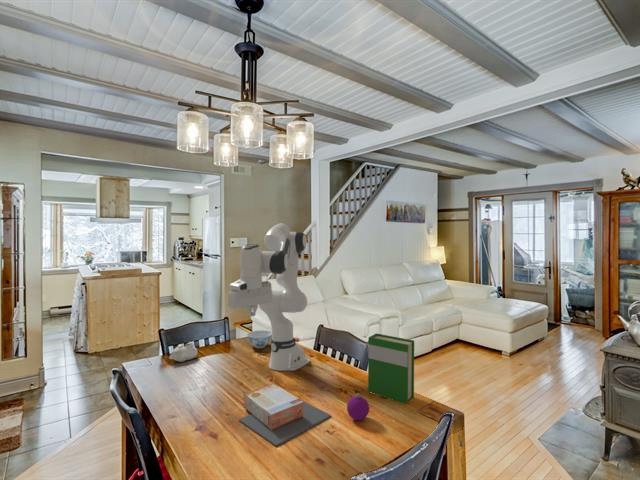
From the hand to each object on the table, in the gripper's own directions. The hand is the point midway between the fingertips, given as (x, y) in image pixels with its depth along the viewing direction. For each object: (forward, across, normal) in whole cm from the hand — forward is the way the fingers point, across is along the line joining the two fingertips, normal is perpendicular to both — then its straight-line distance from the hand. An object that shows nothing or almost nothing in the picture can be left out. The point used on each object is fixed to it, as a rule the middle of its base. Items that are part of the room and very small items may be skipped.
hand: (251, 316), depth 144 cm
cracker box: (+30, +2, +7) cm, 31 cm away
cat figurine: (+35, +2, -61) cm, 70 cm away
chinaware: (+36, -41, -51) cm, 74 cm away
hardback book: (+35, -42, +41) cm, 68 cm away
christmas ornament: (+34, -17, +43) cm, 58 cm away
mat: (+34, +2, +24) cm, 41 cm away
